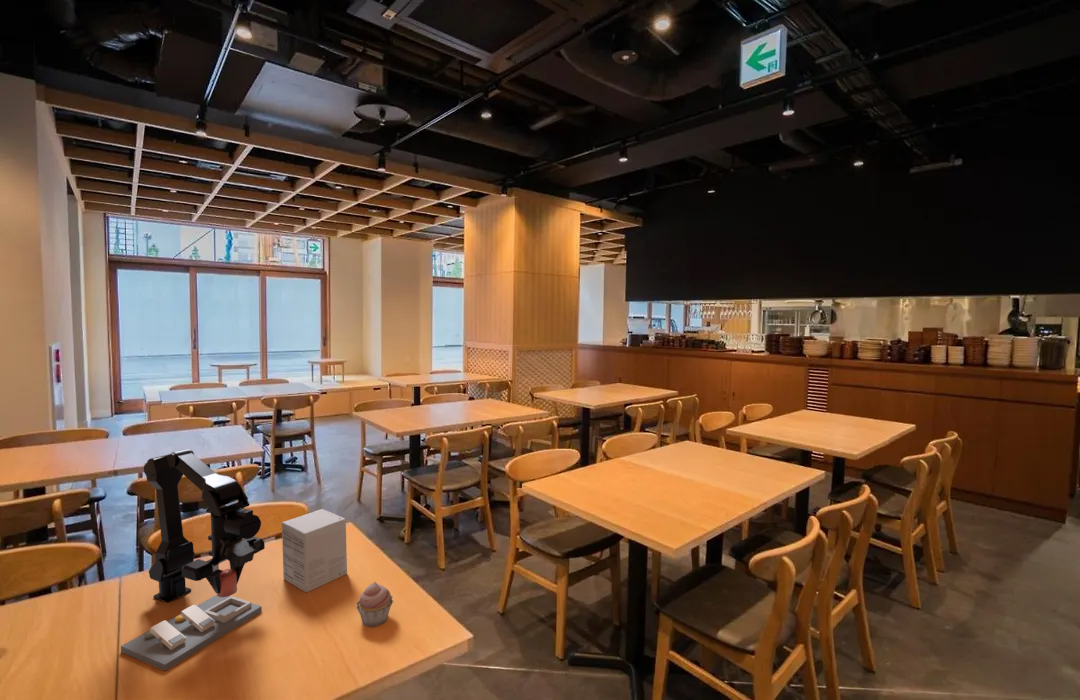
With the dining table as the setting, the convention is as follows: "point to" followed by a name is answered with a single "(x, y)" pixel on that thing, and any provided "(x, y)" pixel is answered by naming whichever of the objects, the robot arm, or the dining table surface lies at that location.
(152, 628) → the breaker
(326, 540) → the supplement box
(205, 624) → the block
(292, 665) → the dining table surface
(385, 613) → the cupcake
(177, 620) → the panel
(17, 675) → the dining table surface
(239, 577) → the robot arm
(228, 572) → the cap
